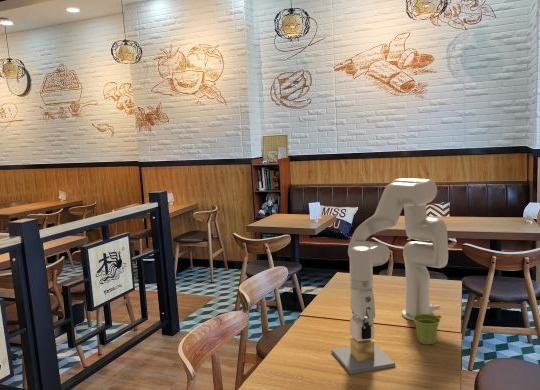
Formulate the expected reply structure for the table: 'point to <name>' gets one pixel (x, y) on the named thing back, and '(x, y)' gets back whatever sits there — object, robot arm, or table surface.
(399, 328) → the table surface
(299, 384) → the table surface
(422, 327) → the plant pot
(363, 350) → the mustard block
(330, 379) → the table surface
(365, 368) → the plate
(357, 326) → the cream block
